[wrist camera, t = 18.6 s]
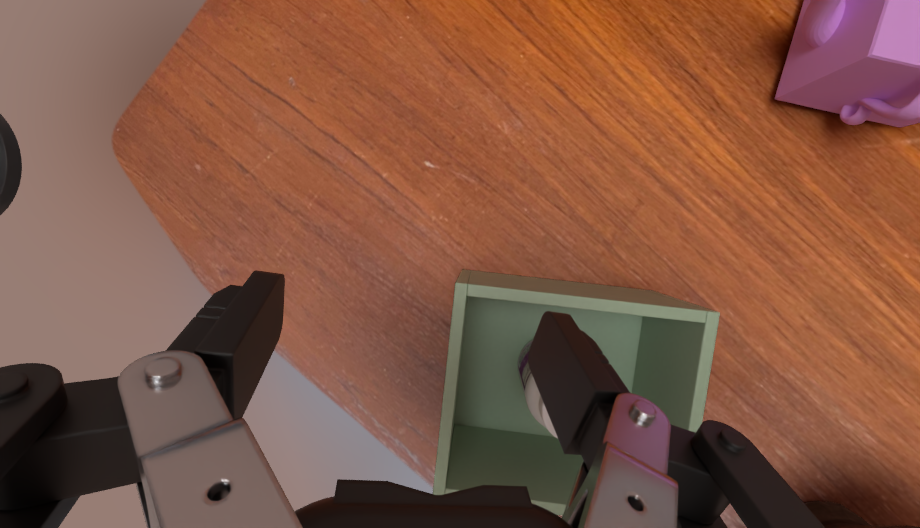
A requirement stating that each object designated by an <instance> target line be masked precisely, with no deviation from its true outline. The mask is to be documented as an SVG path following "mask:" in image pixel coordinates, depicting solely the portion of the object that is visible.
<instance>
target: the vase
mask: <svg viewBox="0 0 920 528" xmlns="http://www.w3.org/2000/svg"><path fill="white" fill-rule="evenodd" d="M805 505H806V506H807V507H808V508H809V509H810V511H811V512H812V513H813V514H814V515H815V516H816V518H817V519H818V520H819V521H820V522H821V523H822V525H823V526H824V527H825V528H920V527H915V526H871V525H870V524H869V523H867V522H866V521H865V520H864V519H862V518H861V517H859V516H858V515H856V514H855V513H853V512H852V511H850V510H849V509H847V508H845V507H844V506H843V505H841V504H838V503H834V502H821V501H813V502H807V503H805Z"/></svg>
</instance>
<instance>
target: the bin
mask: <svg viewBox="0 0 920 528" xmlns="http://www.w3.org/2000/svg"><path fill="white" fill-rule="evenodd" d="M546 311H551V312H558V313H566V314H570V315H571V317H572V318H573V320H574V321H575V323H576V324H577V326H578V327H579V329H580V330H581V331H584V332H585V333H586V334H587V335H588V336H589V337H591V338H592V339H593V340H594V341H595V342H596V343H597V345H598V346H599V348H600V349H601V351H602V352H603V355H605V356H606V358H607V359H608V361H609V364H611V365H612V367H613V368H614V370H615V371H616V373H617V374H618V375H619V377H620V378H621V380H622V381H623V383H624V384H625V386H626V387H627V389H628V390H629V392H630V393H633V394H636V395H639V396H642V397H644V398H646V399H648V400H650V401H651V402H653V403H654V404H655V405H657V406H658V407H659V408H660V409H661V410H662V411H663V412H664V413H665V415H666V416H667V417H668V419H669V421H670V424H671V425H674V426H677V427H680V428H683V429H686V430H689V431H692V432H695V433H696V431H697V430H698V428H699V427H700V425H701V424H702V420H703V414H704V408H705V402H706V396H707V390H708V384H709V377H710V371H711V365H712V359H713V353H714V347H715V341H716V334H717V328H718V322H719V316H720V313H719V312H717V311H714V310H711V309H708V308H705V307H702V306H698V305H695V304H692V303H689V302H686V301H683V300H680V299H677V298H674V297H671V296H668V295H665V294H661V293H658V292H655V291H652V290H644V289H635V288H626V287H617V286H608V285H599V284H590V283H581V282H572V281H563V280H554V279H545V278H536V277H527V276H518V275H509V274H500V273H491V272H482V271H473V270H464V269H462V271H461V273H460V275H459V277H458V279H457V281H456V283H455V290H454V300H453V309H452V318H451V328H450V337H449V346H448V355H447V365H446V374H445V383H444V393H443V402H442V411H441V421H440V430H439V439H438V449H437V458H436V467H435V477H434V486H433V495H443V494H448V493H452V492H456V491H460V490H464V489H468V488H472V487H477V486H481V485H503V486H527V489H528V492H529V496H530V499H531V503H533V504H536V505H538V506H540V507H543V508H545V509H547V510H549V511H550V512H552V513H554V514H556V515H563V513H564V510H565V507H566V505H567V502H568V499H569V496H570V493H571V490H572V487H573V484H574V481H575V478H576V475H577V472H578V469H579V467H580V465H581V463H582V462H583V458H582V456H581V455H572V454H564V452H563V450H562V447H561V445H560V442H559V440H558V438H556V437H554V436H553V435H552V434H551V433H550V432H549V431H548V430H547V428H546V427H544V426H543V425H541V424H540V423H539V422H538V421H537V420H536V419H535V418H534V417H533V415H532V414H531V412H530V410H529V408H528V405H527V402H526V398H525V394H524V391H523V387H522V384H521V381H520V377H519V374H518V368H517V363H518V358H519V355H520V353H521V351H522V349H523V348H524V346H525V345H526V344H527V343H528V342H530V341H532V340H533V339H534V336H535V333H536V331H537V328H538V326H539V323H540V320H541V318H542V315H543V314H544V313H545V312H546Z"/></svg>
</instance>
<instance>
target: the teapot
mask: <svg viewBox="0 0 920 528" xmlns="http://www.w3.org/2000/svg"><path fill="white" fill-rule="evenodd" d="M775 99H776V100H780V101H785V102H789V103H793V104H798V105H802V106H806V107H811V108H815V109H820V110H824V111H829V112H833V113H837V114H840V119H841V120H842V121H843V122H844V123H846V124H849V125H858V124H861V123H863V122H865V121H866V120H869V121H873V122H877V123H882V124H886V125H891V126H895V127H904V126H908V125H912V124H916V123H920V0H804V2H803V5H802V9H801V12H800V15H799V19H798V22H797V25H796V29H795V32H794V35H793V39H792V42H791V45H790V49H789V52H788V55H787V59H786V62H785V65H784V69H783V72H782V75H781V79H780V82H779V85H778V89H777V92H776V95H775Z"/></svg>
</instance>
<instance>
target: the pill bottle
mask: <svg viewBox="0 0 920 528" xmlns="http://www.w3.org/2000/svg"><path fill="white" fill-rule="evenodd" d="M532 341H533V340H532ZM532 341H530V342H528V343H527V344H526V345H525V346H524V348H523V349H522V351H521V353H520V355H519V358H518V363H517V368H518V374H519V377H520V381H521V384H522V387H523V391H524V394H525V398H526V402H527V405H528V408H529V410H530V412H531V414H532V415H533V417H534V418H535V419H536V420H537V421H538V422H539V423H540V424H541V425H543V426H544V427H546V428H547V430H548V431H549V432H550V433H551V434H552V435H553V436H554V437H556V438H558V437H557V435H556V432H555V430H554V427H553V425H552V422H551V420H550V417H549V415H548V413H547V410H546V408H545V405H544V403H543V400H542V398H541V395H540V393H539V390H538V388H537V385H536V383H535V380H534V378H533V375H532V373H531V371H530V368H529V363H528V355H529V350H530V347H531V344H532Z"/></svg>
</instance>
